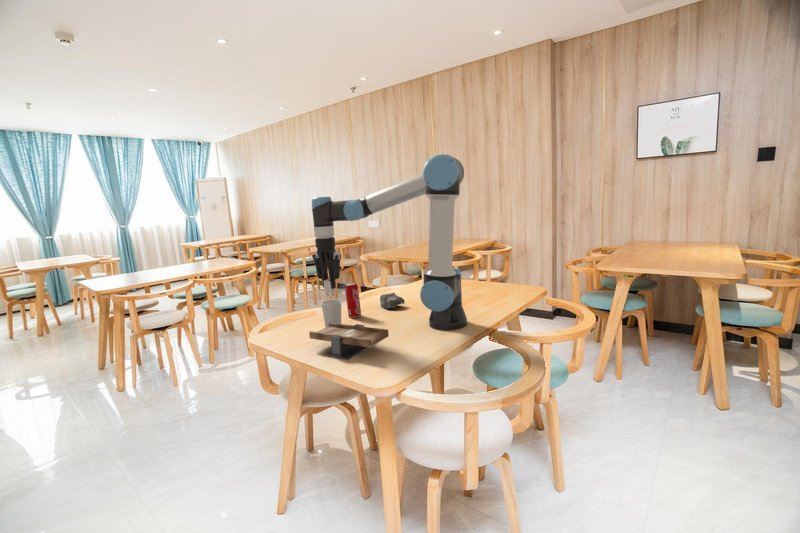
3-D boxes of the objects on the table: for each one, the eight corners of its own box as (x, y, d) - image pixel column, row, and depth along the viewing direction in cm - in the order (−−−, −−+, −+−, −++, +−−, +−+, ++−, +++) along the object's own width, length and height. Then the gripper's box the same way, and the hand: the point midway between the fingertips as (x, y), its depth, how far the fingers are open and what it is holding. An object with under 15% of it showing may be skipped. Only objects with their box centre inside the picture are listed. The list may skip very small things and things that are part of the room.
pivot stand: (374, 343, 146) (373, 325, 144) (346, 360, 132) (345, 340, 131) (352, 339, 151) (350, 322, 150) (323, 355, 137) (321, 336, 136)
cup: (339, 334, 158) (337, 304, 156) (320, 333, 160) (317, 304, 158) (346, 327, 166) (343, 299, 164) (328, 327, 168) (325, 299, 166)
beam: (388, 336, 139) (388, 329, 138) (370, 347, 129) (369, 340, 129) (330, 328, 152) (330, 322, 152) (309, 338, 143) (309, 331, 142)
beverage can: (356, 319, 177) (353, 285, 174) (344, 317, 180) (341, 284, 178) (364, 315, 182) (361, 282, 179) (352, 313, 185) (350, 281, 183)
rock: (407, 306, 192) (406, 293, 190) (397, 311, 185) (396, 297, 183) (385, 303, 199) (384, 291, 198) (374, 308, 192) (373, 295, 191)
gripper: (345, 236, 156) (350, 295, 160) (317, 236, 163) (322, 292, 167) (333, 238, 149) (338, 300, 153) (304, 238, 157) (310, 297, 161)
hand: (330, 296), depth 160 cm, fingers open, 1 cm apart
